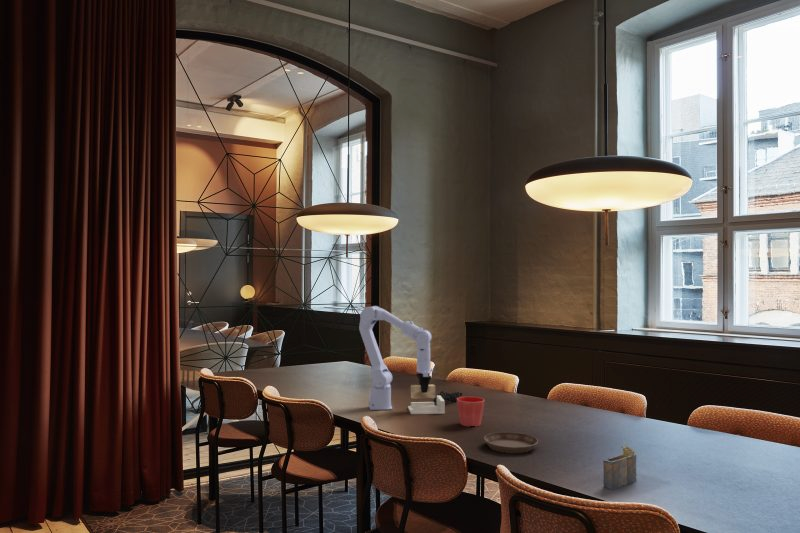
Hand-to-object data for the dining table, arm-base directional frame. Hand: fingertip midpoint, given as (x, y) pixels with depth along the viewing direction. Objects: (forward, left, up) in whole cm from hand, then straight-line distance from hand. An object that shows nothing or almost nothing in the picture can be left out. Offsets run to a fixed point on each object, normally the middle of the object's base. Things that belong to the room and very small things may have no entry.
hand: (423, 391), depth 258 cm
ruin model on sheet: (+42, -95, -9) cm, 104 cm away
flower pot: (+15, -25, -8) cm, 30 cm away
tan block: (0, 0, -2) cm, 3 cm away
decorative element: (+12, +14, -9) cm, 21 cm away
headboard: (+1, 0, -8) cm, 8 cm away
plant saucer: (+22, -57, -9) cm, 62 cm away
